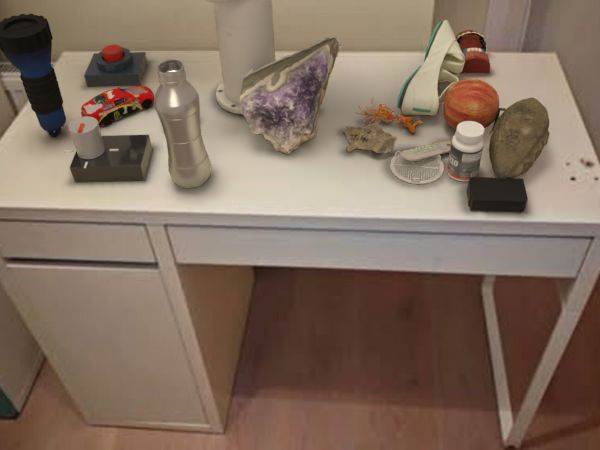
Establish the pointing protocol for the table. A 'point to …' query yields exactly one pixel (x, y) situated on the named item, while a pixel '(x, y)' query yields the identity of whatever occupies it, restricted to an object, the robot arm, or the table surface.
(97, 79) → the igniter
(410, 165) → the drain cover
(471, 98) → the fruit
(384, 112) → the dragon
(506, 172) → the stone
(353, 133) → the artifact
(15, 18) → the flashlight
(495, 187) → the ink cartridge
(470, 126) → the pill bottle
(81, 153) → the stove knob
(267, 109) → the gemstone
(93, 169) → the panel
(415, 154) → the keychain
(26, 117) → the table surface
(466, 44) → the dental model
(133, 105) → the race car
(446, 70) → the white wedge shoe
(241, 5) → the robot arm
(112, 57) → the button
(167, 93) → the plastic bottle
